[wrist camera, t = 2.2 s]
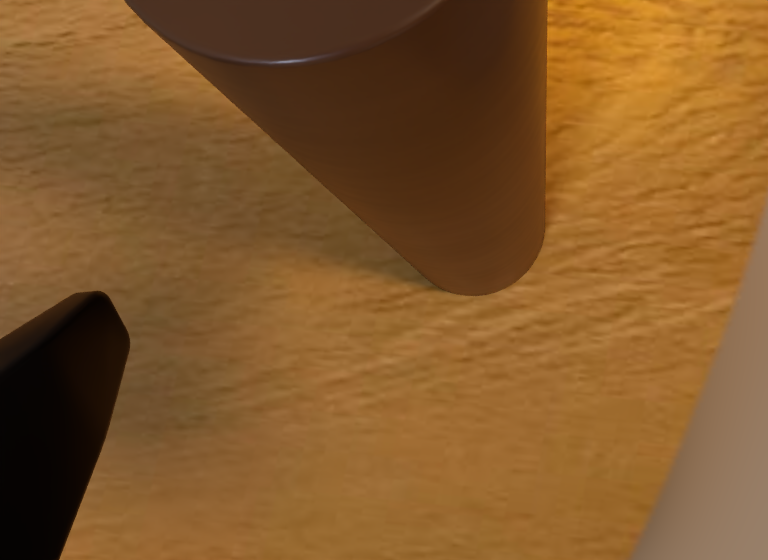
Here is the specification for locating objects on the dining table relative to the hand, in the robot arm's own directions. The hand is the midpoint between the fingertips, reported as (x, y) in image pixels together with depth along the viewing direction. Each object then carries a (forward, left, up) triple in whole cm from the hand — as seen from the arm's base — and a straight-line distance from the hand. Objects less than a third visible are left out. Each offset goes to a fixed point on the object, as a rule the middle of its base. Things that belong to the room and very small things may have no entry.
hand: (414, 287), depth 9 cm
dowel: (+3, -1, -11) cm, 11 cm away
